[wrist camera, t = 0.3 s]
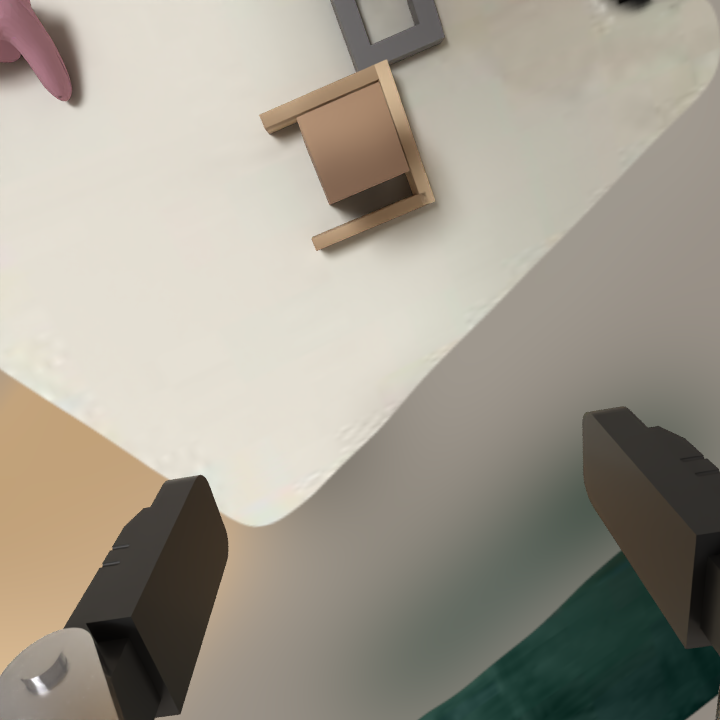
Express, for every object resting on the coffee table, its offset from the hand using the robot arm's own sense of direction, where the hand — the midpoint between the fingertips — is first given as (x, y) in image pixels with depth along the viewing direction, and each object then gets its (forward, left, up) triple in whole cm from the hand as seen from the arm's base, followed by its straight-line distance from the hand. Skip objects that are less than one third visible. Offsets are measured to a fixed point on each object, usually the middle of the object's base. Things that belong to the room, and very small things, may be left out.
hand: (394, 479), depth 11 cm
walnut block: (-8, +3, -27) cm, 28 cm away
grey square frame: (-15, +9, -27) cm, 32 cm away
